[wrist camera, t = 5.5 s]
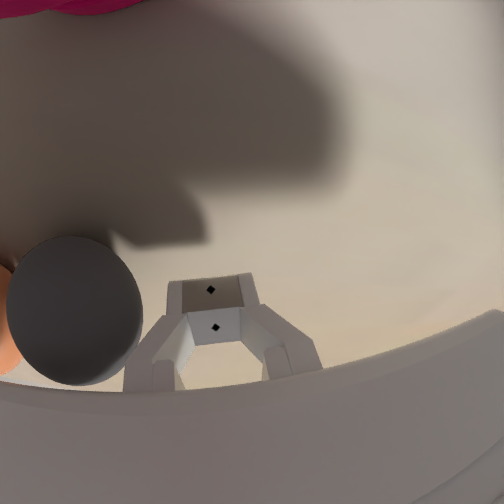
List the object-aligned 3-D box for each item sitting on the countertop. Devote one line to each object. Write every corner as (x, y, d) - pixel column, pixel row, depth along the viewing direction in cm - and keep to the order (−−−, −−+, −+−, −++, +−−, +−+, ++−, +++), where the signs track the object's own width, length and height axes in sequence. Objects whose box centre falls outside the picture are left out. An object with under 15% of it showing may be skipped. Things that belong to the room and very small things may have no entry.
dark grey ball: (-33, 314, 4) (6, 219, 8) (36, 418, 7) (35, 320, 11) (156, 289, 7) (128, 205, 11) (165, 398, 10) (134, 306, 14)
